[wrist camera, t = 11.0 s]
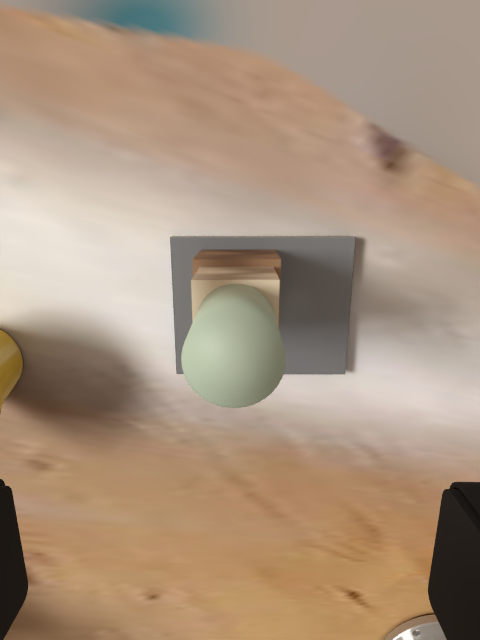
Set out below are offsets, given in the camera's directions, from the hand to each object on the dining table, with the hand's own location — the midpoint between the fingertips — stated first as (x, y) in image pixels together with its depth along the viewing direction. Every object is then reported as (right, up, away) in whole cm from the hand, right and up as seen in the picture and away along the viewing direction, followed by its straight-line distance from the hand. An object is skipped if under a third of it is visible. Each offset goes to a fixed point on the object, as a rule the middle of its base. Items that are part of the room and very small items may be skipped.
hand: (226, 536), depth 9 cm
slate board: (+2, +6, +27) cm, 28 cm away
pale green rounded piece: (0, +5, +15) cm, 16 cm away
